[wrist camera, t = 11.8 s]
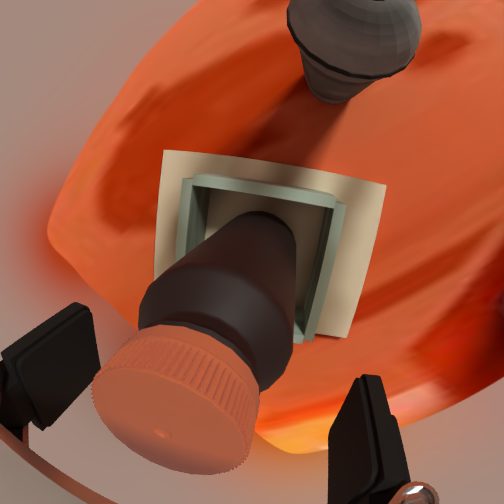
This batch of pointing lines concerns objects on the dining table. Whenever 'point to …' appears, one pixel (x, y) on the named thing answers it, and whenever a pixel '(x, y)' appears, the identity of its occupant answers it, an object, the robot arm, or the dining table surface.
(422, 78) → the dining table surface
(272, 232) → the vinegar
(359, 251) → the bottle caddy
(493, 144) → the dining table surface
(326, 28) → the beverage cup
